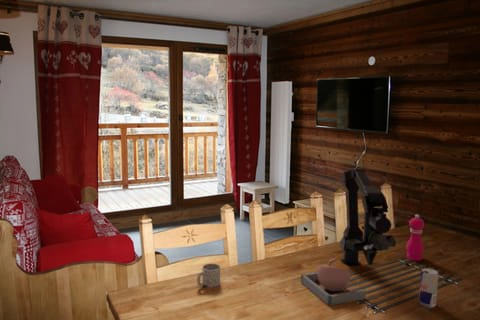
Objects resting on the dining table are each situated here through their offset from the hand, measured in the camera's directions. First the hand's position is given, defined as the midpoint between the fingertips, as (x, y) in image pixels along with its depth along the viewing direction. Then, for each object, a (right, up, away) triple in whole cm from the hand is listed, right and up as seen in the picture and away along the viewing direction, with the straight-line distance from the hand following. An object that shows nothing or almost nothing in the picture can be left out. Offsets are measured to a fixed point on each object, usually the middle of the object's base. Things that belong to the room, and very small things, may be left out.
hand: (369, 264), depth 155 cm
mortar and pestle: (-15, -8, -4) cm, 17 cm away
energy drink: (+15, -10, -14) cm, 23 cm away
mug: (-61, -8, -1) cm, 62 cm away
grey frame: (-15, -8, -4) cm, 17 cm away
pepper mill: (+29, -4, +28) cm, 40 cm away
